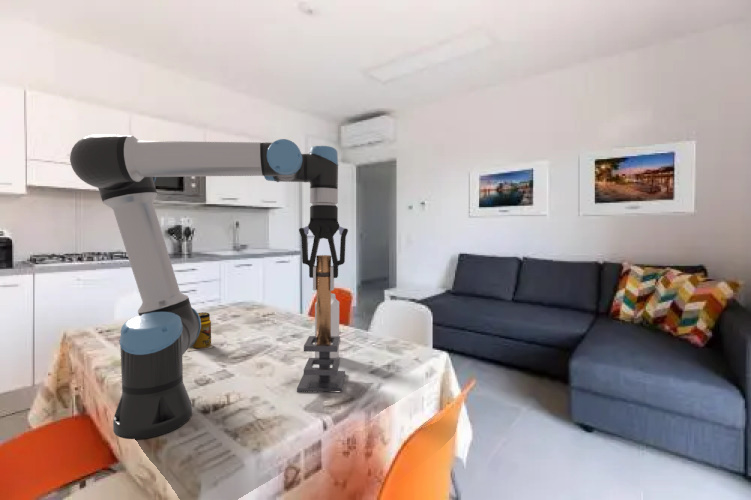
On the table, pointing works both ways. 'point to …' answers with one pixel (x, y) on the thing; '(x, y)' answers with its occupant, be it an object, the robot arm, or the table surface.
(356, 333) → the table surface
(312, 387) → the collar stand
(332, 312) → the milk
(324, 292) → the brown wooden cylinder
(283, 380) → the table surface
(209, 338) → the condiment
